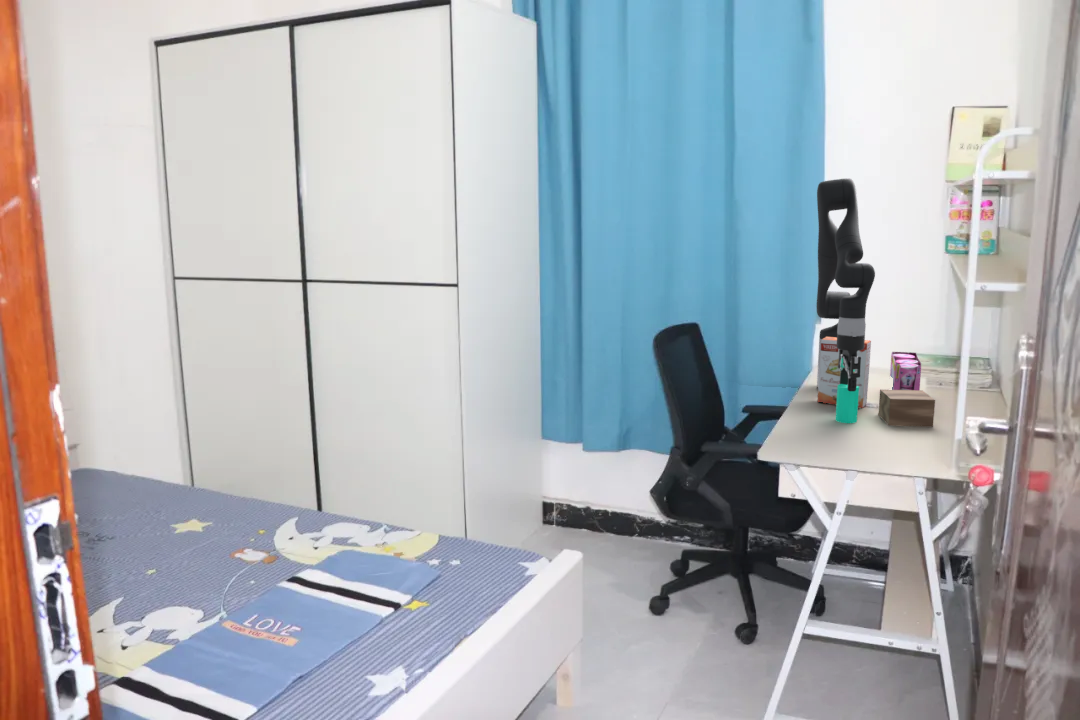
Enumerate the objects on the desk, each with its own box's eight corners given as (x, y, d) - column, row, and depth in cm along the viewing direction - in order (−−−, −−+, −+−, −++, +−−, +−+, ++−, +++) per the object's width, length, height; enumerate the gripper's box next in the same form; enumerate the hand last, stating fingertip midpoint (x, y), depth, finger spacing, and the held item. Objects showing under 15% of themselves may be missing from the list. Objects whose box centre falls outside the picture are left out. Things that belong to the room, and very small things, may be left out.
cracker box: (816, 403, 263) (820, 338, 259) (822, 399, 268) (825, 335, 264) (862, 409, 256) (867, 342, 251) (867, 404, 260) (871, 339, 256)
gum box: (919, 409, 255) (922, 366, 252) (891, 407, 257) (894, 364, 255) (913, 392, 277) (916, 352, 274) (888, 390, 279) (891, 351, 277)
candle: (858, 423, 239) (861, 383, 237) (836, 422, 240) (839, 382, 238) (855, 418, 245) (857, 378, 243) (834, 417, 246) (836, 378, 244)
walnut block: (878, 415, 249) (880, 389, 247) (920, 416, 247) (922, 390, 245) (888, 426, 237) (890, 398, 236) (932, 427, 235) (935, 400, 234)
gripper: (831, 329, 245) (828, 382, 248) (844, 336, 231) (840, 393, 234) (857, 329, 244) (854, 382, 247) (872, 336, 230) (868, 393, 233)
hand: (847, 387), depth 241 cm, fingers open, 8 cm apart
